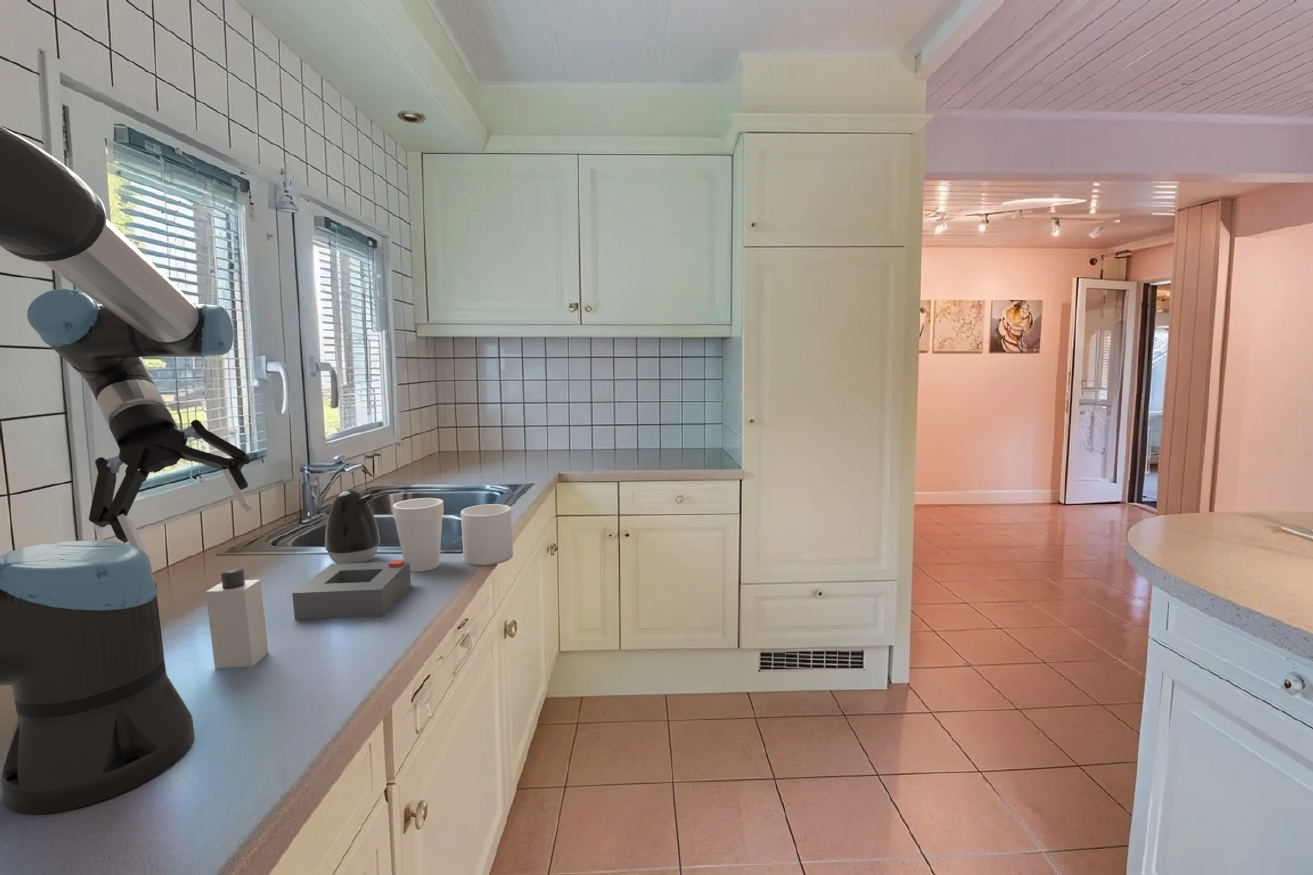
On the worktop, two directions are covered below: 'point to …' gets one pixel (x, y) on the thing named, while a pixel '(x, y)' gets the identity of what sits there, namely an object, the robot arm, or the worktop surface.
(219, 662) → the plug
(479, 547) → the mug
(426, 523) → the foam cup
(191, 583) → the worktop surface
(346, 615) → the socket
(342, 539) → the pump dispenser
